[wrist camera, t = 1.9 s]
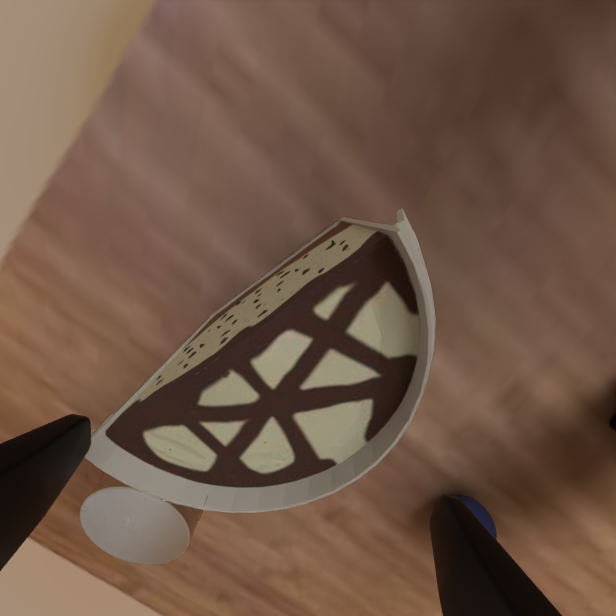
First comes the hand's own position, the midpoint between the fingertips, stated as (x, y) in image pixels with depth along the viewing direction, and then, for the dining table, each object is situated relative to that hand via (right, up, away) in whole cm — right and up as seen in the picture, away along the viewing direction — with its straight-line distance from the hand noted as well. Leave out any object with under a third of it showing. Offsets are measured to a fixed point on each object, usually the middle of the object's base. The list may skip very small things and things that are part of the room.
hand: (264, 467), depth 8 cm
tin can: (-8, -6, +15) cm, 18 cm away
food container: (+1, +4, +11) cm, 11 cm away
